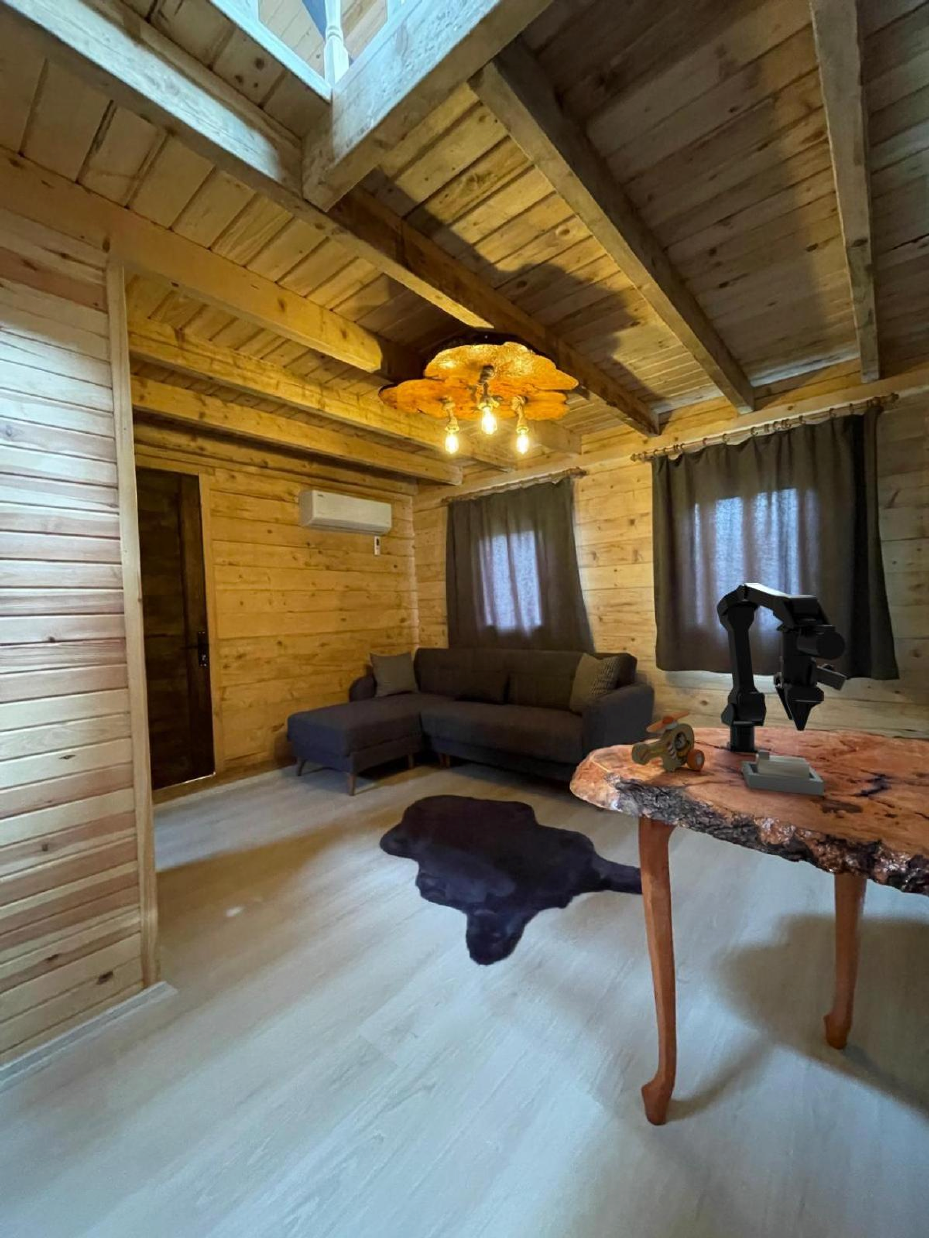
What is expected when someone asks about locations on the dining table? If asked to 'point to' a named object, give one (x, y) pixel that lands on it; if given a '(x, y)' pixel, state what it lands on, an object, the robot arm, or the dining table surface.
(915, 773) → the dining table surface
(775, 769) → the white block with tab
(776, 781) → the cradle
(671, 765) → the toy helicopter
